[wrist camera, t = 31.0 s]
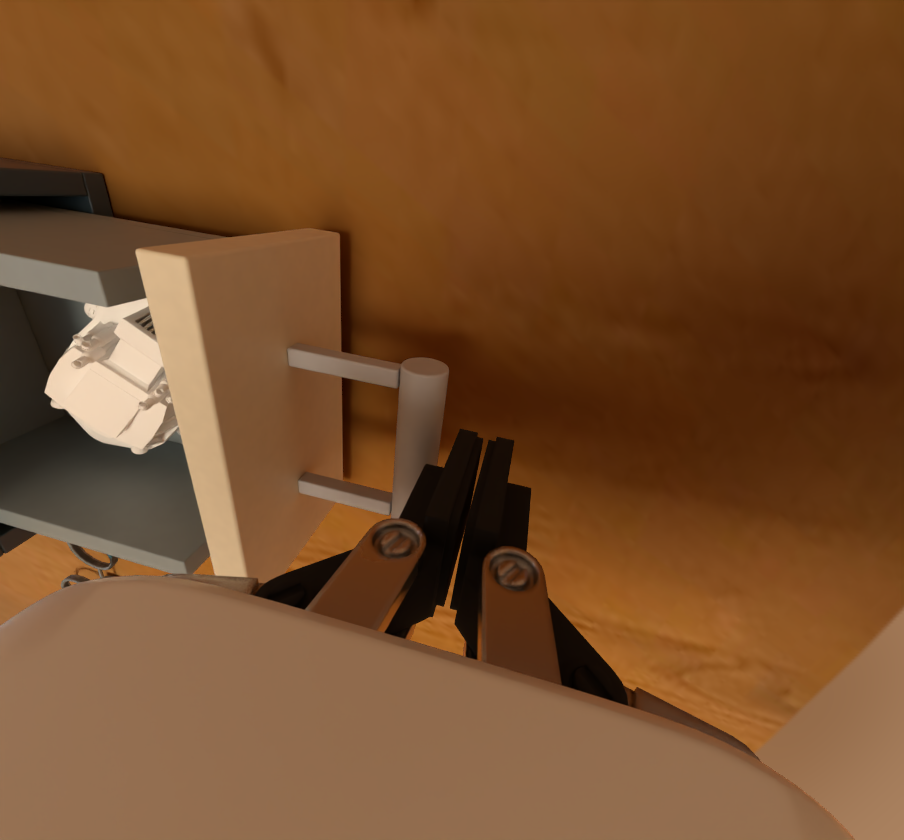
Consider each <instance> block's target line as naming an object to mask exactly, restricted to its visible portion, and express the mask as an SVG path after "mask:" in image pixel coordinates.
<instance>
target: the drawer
mask: <svg viewBox="0 0 904 840" xmlns="http://www.w3.org/2000/svg"><path fill="white" fill-rule="evenodd" d="M145 298H147V301H148V305H149V310H150V314H151V318H152V322H153V326H154V330H155V334H156V338H157V342H158V346H159V350H160V354H161V358H162V362H163V366H164V370H165V374H166V378H167V382H168V386H169V390H170V394H171V399H172V403H173V407H174V411H175V415H176V419H177V423H178V427H179V431H180V435H179V434H178V433H177V432H175V433H174V434H173V435H172V436H171V437H170V438H169V439H168V440H167V441H165V443H163V444H161V445H159V446H156V447H154V448H152V449H148V451H147V452H146V453H144V454H135V453H133V452H132V451H131V448H128V447H123V446H117V445H112V444H106V443H102V442H100V441H98V440H96V439H94V438H93V437H91V436H90V435H89V434H88V433H87V432H86V431H85V430H84V429H83V428H82V427H81V426H80V425H79V424H78V422H77V421H76V420H75V419H74V418H73V417H72V416H71V415H70V414H69V412H68V411H67V410H66V409H57V408H54V407H52V406H51V404H50V403H51V400H52V398H51V397H49V396H48V395H47V394H46V393H44V392H45V388H46V385H47V382H48V378H49V375H50V374H51V372H52V370H53V369H54V367H55V366H56V364H57V362H58V361H59V359H60V358H61V357H62V356H63V354H64V352H65V351H66V349H67V348H68V347H69V346H70V345H71V343H72V342H73V340H74V339H73V336H74V335H76V334H78V333H79V332H81V331H82V330H83V329H84V328H85V327H86V326H87V325H88V324H89V323H90V322H91V321H92V318H90V317H88V315H87V314H86V313H85V310H84V306H85V303H88V304H93V305H98V306H102V307H112V306H116V305H120V304H124V303H129V302H133V301H137V300H141V299H145ZM342 377H344V378H348V379H353V380H358V381H362V382H367V383H372V384H377V385H381V386H386V387H391V388H398V387H399V401H398V416H397V431H396V447H395V462H394V478H393V493H390V492H386V491H382V490H378V489H374V488H370V487H366V486H362V485H358V484H354V483H350V482H346V481H343V436H342ZM448 377H449V368H448V366H447V365H446V364H445V363H443V362H441V361H438V360H435V359H431V358H424V357H417V358H410V359H407V360H405V361H403V362H402V364H399V363H394V362H389V361H384V360H379V359H374V358H369V357H364V356H359V355H355V354H350V353H345V352H341V283H340V234H339V233H337V232H331V231H325V230H319V229H313V228H305V229H297V230H288V231H280V232H271V233H262V234H254V235H245V236H237V237H223V236H218V235H212V234H206V233H200V232H194V231H189V230H183V229H177V228H171V227H165V226H160V225H154V224H148V223H142V222H136V221H130V220H125V219H119V218H113V217H107V216H101V215H96V214H90V213H84V212H78V211H72V210H67V209H61V208H55V207H49V206H43V205H37V204H32V203H26V202H20V201H14V200H8V199H3V198H0V523H4V524H7V525H10V526H14V527H17V528H20V529H24V530H27V531H31V532H34V533H37V534H41V535H44V536H47V537H51V538H54V539H57V540H61V541H64V542H68V543H71V544H74V545H78V546H81V547H84V548H88V549H91V550H95V551H98V552H101V553H105V554H108V555H111V556H115V557H118V558H121V559H125V560H128V561H132V562H135V563H138V564H142V565H145V566H148V567H152V568H155V569H159V570H162V571H165V572H169V573H172V574H176V573H183V574H193V573H194V572H195V571H196V570H197V569H198V568H199V566H200V565H201V564H202V563H203V562H204V561H205V560H206V559H207V558H208V557H209V556H211V560H212V564H213V569H214V573H215V575H217V576H234V577H250V578H258V582H259V583H266V582H268V581H269V580H271V579H273V578H275V577H277V576H280V575H282V574H284V573H285V572H286V570H287V569H288V568H289V566H290V565H291V563H292V562H293V561H294V559H295V558H296V557H297V555H298V554H299V552H300V551H301V550H302V548H303V547H304V545H305V544H306V543H307V541H308V540H309V539H310V537H311V536H312V534H313V533H314V532H315V530H316V529H317V528H318V526H319V525H320V523H321V522H322V521H323V519H324V518H325V516H326V515H327V514H328V512H329V511H330V510H331V508H332V507H333V505H334V504H335V503H336V502H337V503H341V504H345V505H349V506H353V507H357V508H361V509H365V510H369V511H373V512H376V513H380V514H384V515H390V513H391V518H399V517H400V515H401V513H402V511H403V509H404V507H405V504H406V502H407V500H408V498H409V496H410V494H411V492H412V490H413V488H414V486H415V484H416V482H417V480H418V478H419V476H420V474H421V472H422V470H423V467H424V466H425V464H430V465H434V466H437V462H438V454H439V446H440V439H441V431H442V423H443V416H444V408H445V400H446V392H447V385H448Z"/></svg>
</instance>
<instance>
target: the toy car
mask: <svg viewBox="0 0 904 840" xmlns="http://www.w3.org/2000/svg"><path fill="white" fill-rule="evenodd" d="M84 310H85V313H86V314H87V315H88V317H90V318H92V321H91V322H90V323H89V324H88V325H87V326H86V327H85V328H84V329H83V330H82V331H81V332H79V333H78V334H76V335H74V336H73V339H74V340H73V342H72V343H71V345H70V346H69V347H68V348H67V349H66V351H65V352H64V354H63V356H62V357H61V358H60V359H59V361H58V362H57V364H56V366H55V367H54V369H53V370H52V372H51V374H50V375H49V378H48V382H47V385H46V388H45V392H44V393H46V394H47V395H48V396H49V397H51V398H52V400H51V403H50V404H51V406H52V407H54V408H57V409H66V410H67V411H68V412H69V414H70V415H71V416H72V417H73V418H74V419H75V420H76V421H77V422H78V424H79V425H80V426H81V427H82V428H83V429H84V430H85V431H86V432H87V433H88V434H89V435H90V436H91V437H93V438H94V439H96V440H98V441H100V442H102V443H106V444H112V445H117V446H123V447H128V448H131V451H132V452H133V453H135V454H144V453H146V452H147V451H148V449H152V448H154V447H156V446H159V445H161V444H163V443H165V441H167V440H168V439H169V438H170V437H171V436H172V435H173V434H174V433H175V432H177V433H178V434H179V435H180V431H179V427H178V423H177V419H176V415H175V411H174V407H173V403H172V399H171V394H170V390H169V386H168V382H167V378H166V374H165V370H164V366H163V362H162V358H161V354H160V350H159V346H158V342H157V338H156V334H155V330H154V326H153V322H152V318H151V314H150V310H149V305H148V301H147V298H145V299H141V300H137V301H133V302H129V303H124V304H120V305H116V306H112V307H102V306H98V305H93V304H88V303H85V306H84Z"/></svg>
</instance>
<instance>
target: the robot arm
mask: <svg viewBox="0 0 904 840" xmlns="http://www.w3.org/2000/svg"><path fill="white" fill-rule="evenodd" d="M477 434H478V432H473V431H469V430H464V429H460V430H459V433H458V435H457V438H456V440H455V442H454V445H453V447H452V450H451V452H450V455H449V457H448V460H447V462H446V464H445V467H444V468H443V467H439V466H434V465H430V464H425V466H424V467H423V470H422V472H421V474H420V476H419V478H418V480H417V482H416V484H415V486H414V488H413V490H412V492H411V494H410V496H409V498H408V500H407V502H406V504H405V507H404V509H403V511H402V513H401V515H400V517H399V518H391V519H386V520H383V521H380V522H378V523H376V524H375V525H374V526H373V527H372V528H370V529H369V531H368V532H367V533H366V534H365V536H364V537H363V538H362V539H361V541H360V542H359V543H358V544H357V546H356V547H355V548H354V549H353V550H350V551H347V552H344V553H341V554H339V555H336V556H333V557H330V558H327V559H325V560H322V561H319V562H316V563H313V564H310V565H308V566H305V567H302V568H299V569H296V570H294V571H291V572H288V573H285V574H282V575H280V576H277V577H275V578H273V579H271V580H269V581H268V582H266V583H259V582H258V578H250V577H234V576H217V575H200V574H183V573H176V574H166V575H163V576H143V575H134V576H120V577H108V578H101V579H95V580H90V581H85V582H81V583H77V584H74V585H71V586H68V587H65V588H62V589H60V590H58V591H56V592H54V593H52V594H50V595H48V596H46V597H44V598H43V599H41V600H39V601H37V602H36V603H34V604H32V605H31V606H29V607H28V608H26V609H24V610H23V611H21V612H20V613H18V614H17V615H15V616H14V617H12V618H11V619H9V620H8V621H7V622H5V623H4V624H2V625H1V626H0V840H855V839H854V838H853V836H852V835H851V834H850V833H849V832H848V831H847V830H846V829H845V828H844V827H843V825H842V824H841V823H839V821H838V820H837V819H836V818H835V817H834V816H832V814H831V813H829V812H828V811H827V810H826V809H825V808H823V806H821V805H820V804H819V803H818V802H817V801H815V800H814V799H813V798H812V797H811V796H809V795H808V794H807V793H805V792H804V791H803V790H801V789H800V788H799V787H798V786H796V785H795V784H793V783H792V782H790V781H789V780H788V779H786V778H785V777H783V776H782V775H780V774H778V773H777V772H776V771H774V770H773V769H771V768H770V767H768V766H767V765H765V764H764V763H762V762H761V761H760V760H759V758H758V757H757V756H756V755H755V754H754V753H753V752H752V751H751V750H750V749H749V748H748V747H747V746H746V745H745V744H743V743H742V742H740V741H739V740H737V739H736V738H735V737H733V736H731V735H729V734H727V733H726V732H724V731H722V730H720V729H718V728H716V727H714V726H712V725H710V724H708V723H706V722H704V721H702V720H700V719H698V718H696V717H694V716H692V715H691V714H689V713H687V712H685V711H683V710H681V709H679V708H677V707H675V706H673V705H671V704H669V703H667V702H665V701H663V700H661V699H659V698H657V697H656V696H654V695H652V694H650V693H648V692H646V691H644V690H642V689H640V688H638V687H637V688H636V689H635V691H633V690H631V689H629V688H627V687H625V686H623V684H622V682H621V680H620V679H619V678H618V676H617V675H616V673H615V672H614V671H613V670H612V668H611V667H610V666H609V665H608V664H607V663H606V662H605V661H604V660H603V658H602V657H601V656H600V655H599V654H598V653H597V652H596V651H595V649H594V648H593V647H592V646H591V645H590V644H589V643H588V642H587V640H586V639H585V638H584V637H583V636H582V635H581V634H580V633H579V631H578V630H577V629H576V628H575V627H574V626H573V625H572V624H571V623H570V621H569V620H568V619H567V618H566V617H565V616H564V615H563V614H562V612H561V611H560V610H559V609H558V608H557V607H556V606H555V605H554V603H553V602H552V601H551V600H550V599H549V598H548V594H547V587H546V581H545V575H544V572H543V569H542V566H541V565H540V563H539V562H538V561H537V559H536V558H534V557H533V556H532V555H531V554H530V553H528V552H526V549H527V537H528V524H529V511H530V499H531V488H528V487H524V486H520V485H515V484H511V483H507V482H508V476H509V470H510V464H511V458H512V452H513V446H514V440H509V439H505V438H500V437H497V438H496V441H492V440H489V441H488V445H487V448H486V452H485V456H484V460H483V463H482V467H481V471H480V474H479V478H478V482H477V485H476V489H475V493H474V496H473V491H474V486H475V481H476V475H477V470H478V465H479V460H480V455H481V449H482V444H483V438H479V437H477ZM472 496H473V500H472ZM471 502H472V504H471ZM470 507H471V508H470ZM464 530H465V532H464ZM463 534H464V537H463ZM462 538H463V542H462V547H461V553H460V558H459V563H458V568H457V574H456V579H455V584H454V589H453V595H452V600H451V605H450V609H454V610H457V614H456V619H455V625H456V627H457V628H458V630H459V631H460V633H461V634H462V636H463V637H464V639H465V643H464V647H463V656H461V655H458V654H454V653H451V652H448V651H444V650H441V649H437V648H434V647H431V646H427V645H424V644H420V643H417V642H414V641H410V639H411V637H412V635H413V632H414V629H415V626H416V623H418V622H420V621H422V620H424V619H426V618H428V617H433V615H434V611H435V608H436V605H440V606H443V607H444V604H445V600H446V597H447V593H448V589H449V586H450V582H451V578H452V575H453V571H454V567H455V564H456V560H457V556H458V552H459V549H460V545H461V541H462Z"/></svg>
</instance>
